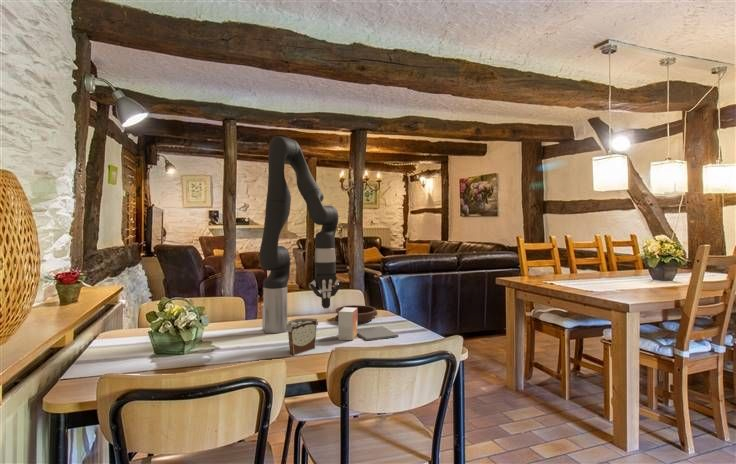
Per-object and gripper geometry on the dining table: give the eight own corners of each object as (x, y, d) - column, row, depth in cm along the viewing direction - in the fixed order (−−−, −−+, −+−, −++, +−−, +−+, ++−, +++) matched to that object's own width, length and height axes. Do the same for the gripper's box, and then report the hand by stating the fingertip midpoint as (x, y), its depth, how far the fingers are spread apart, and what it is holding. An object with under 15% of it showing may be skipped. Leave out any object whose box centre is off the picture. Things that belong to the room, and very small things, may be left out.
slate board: (366, 340, 154) (366, 338, 154) (352, 331, 167) (352, 329, 167) (398, 337, 159) (398, 334, 159) (382, 328, 172) (382, 326, 172)
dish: (323, 320, 185) (323, 308, 185) (363, 313, 199) (363, 302, 199) (347, 328, 172) (347, 316, 172) (388, 320, 186) (388, 309, 186)
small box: (352, 340, 154) (353, 312, 153) (338, 339, 155) (338, 311, 155) (357, 334, 162) (357, 307, 161) (343, 334, 163) (343, 306, 162)
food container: (305, 344, 149) (305, 316, 149) (318, 347, 145) (318, 318, 145) (278, 352, 140) (277, 322, 139) (290, 356, 136) (290, 325, 135)
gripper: (338, 258, 160) (339, 304, 160) (304, 260, 154) (305, 307, 155) (346, 260, 153) (346, 308, 153) (310, 262, 148) (311, 311, 148)
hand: (325, 308), depth 154 cm, fingers closed
